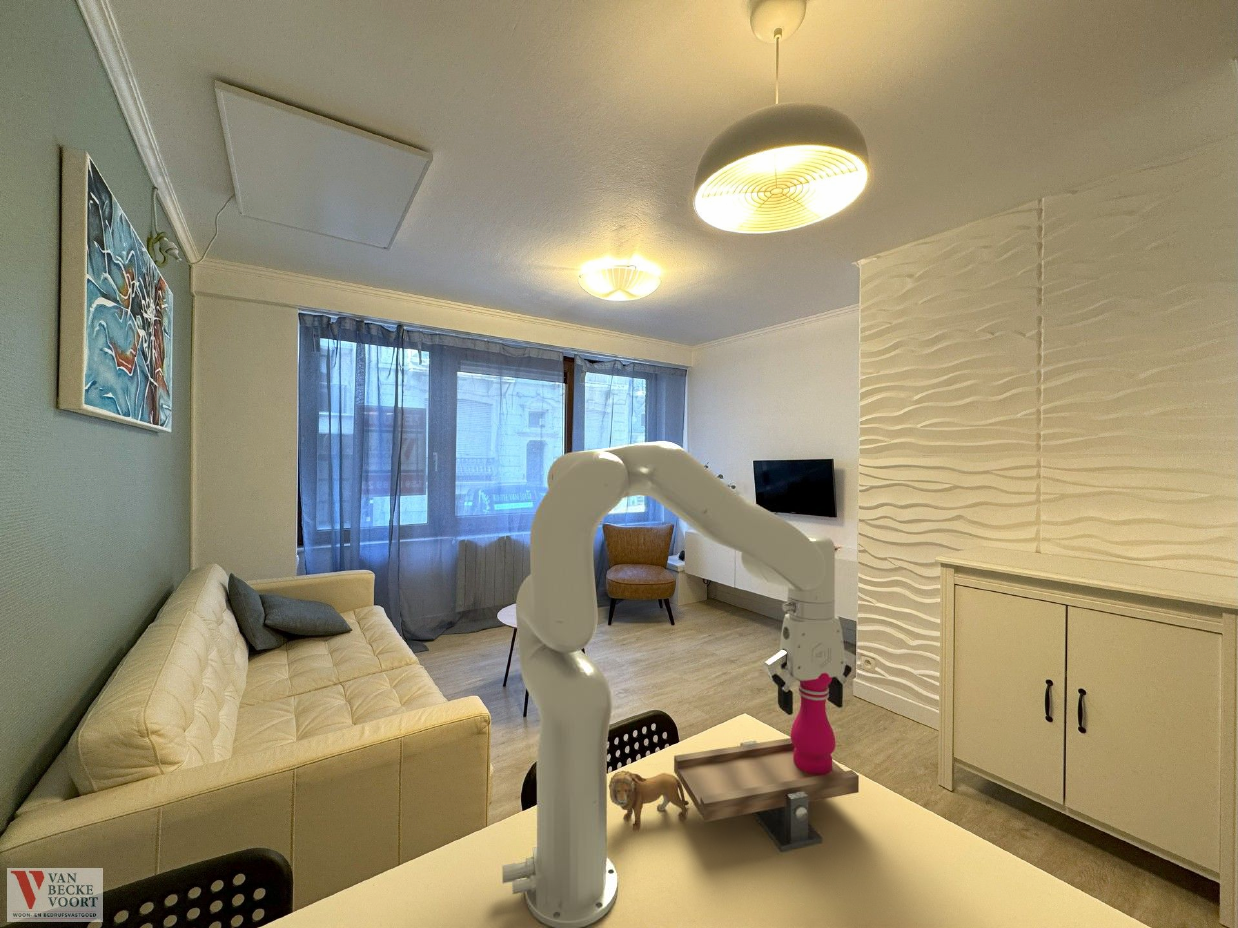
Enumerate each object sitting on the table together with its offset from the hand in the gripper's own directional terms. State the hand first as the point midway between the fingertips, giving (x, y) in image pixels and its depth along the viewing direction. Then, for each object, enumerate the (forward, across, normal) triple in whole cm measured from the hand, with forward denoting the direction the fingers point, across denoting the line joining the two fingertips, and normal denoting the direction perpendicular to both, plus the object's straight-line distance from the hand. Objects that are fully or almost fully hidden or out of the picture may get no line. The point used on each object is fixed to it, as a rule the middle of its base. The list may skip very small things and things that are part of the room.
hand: (810, 707), depth 87 cm
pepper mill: (+10, 0, 0) cm, 10 cm away
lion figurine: (+17, -28, +3) cm, 33 cm away
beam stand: (+16, -8, 0) cm, 18 cm away
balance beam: (+11, -9, 0) cm, 14 cm away
